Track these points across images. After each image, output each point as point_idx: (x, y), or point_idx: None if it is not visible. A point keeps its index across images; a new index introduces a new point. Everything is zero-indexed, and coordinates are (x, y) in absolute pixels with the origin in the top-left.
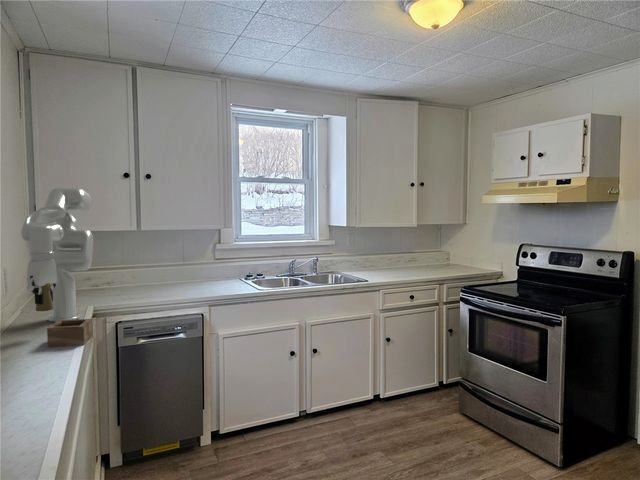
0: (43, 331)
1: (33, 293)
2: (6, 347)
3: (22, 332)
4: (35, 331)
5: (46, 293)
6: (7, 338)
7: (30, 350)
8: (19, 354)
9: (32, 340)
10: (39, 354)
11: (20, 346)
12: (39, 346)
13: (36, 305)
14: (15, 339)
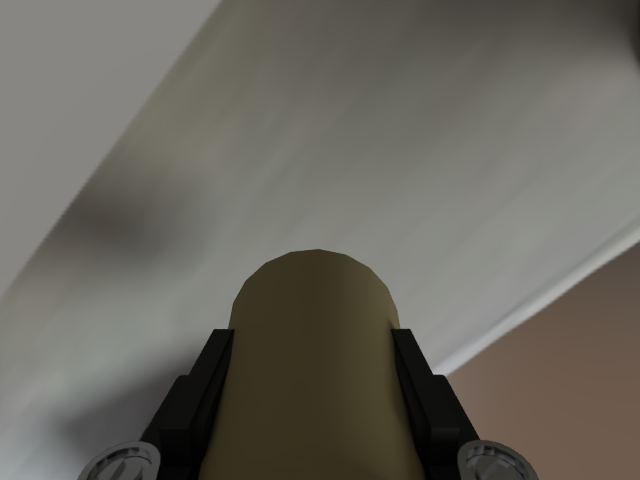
0: (399, 145)
1: (90, 477)
2: (59, 227)
3: (346, 15)
4: (388, 89)
5: None
6: (199, 50)
7: (74, 392)
8: (7, 395)
9: (215, 251)
10: (48, 477)
11: (104, 286)
12: (142, 380)
13: (232, 324)
14: (198, 128)
